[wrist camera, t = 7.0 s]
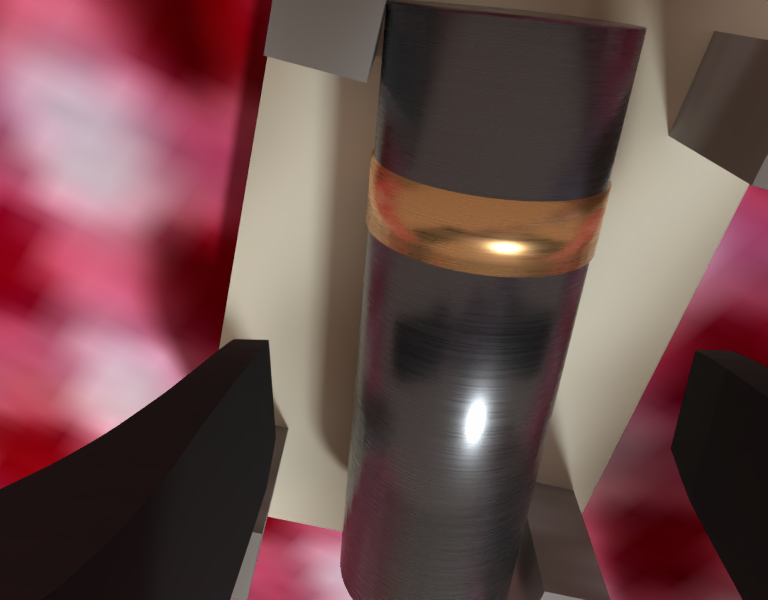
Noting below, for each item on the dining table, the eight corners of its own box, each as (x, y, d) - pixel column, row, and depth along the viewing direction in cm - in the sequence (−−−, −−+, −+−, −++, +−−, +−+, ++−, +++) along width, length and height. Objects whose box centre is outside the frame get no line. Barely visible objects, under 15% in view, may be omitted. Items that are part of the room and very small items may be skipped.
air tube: (499, 507, 18) (526, 649, 14) (344, 495, 18) (331, 635, 14) (606, 18, 12) (696, 37, 9) (385, -4, 12) (380, 7, 9)
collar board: (810, 0, 13) (996, 11, 9) (544, 547, 19) (581, 697, 15) (310, -147, 12) (264, -208, 8) (203, 475, 19) (148, 614, 15)
